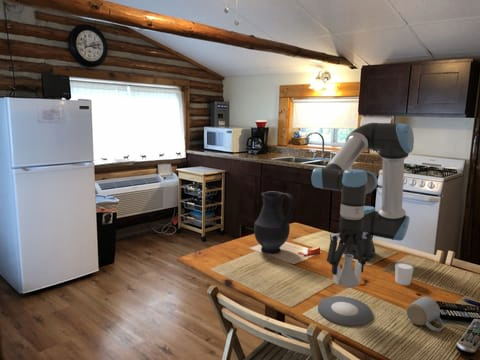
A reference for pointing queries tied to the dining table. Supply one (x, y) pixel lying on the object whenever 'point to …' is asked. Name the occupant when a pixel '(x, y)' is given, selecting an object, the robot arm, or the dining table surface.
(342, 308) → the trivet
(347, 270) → the flask
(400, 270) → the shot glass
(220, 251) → the dining table surface
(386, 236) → the robot arm
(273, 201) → the pitcher
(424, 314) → the ceramic mug
